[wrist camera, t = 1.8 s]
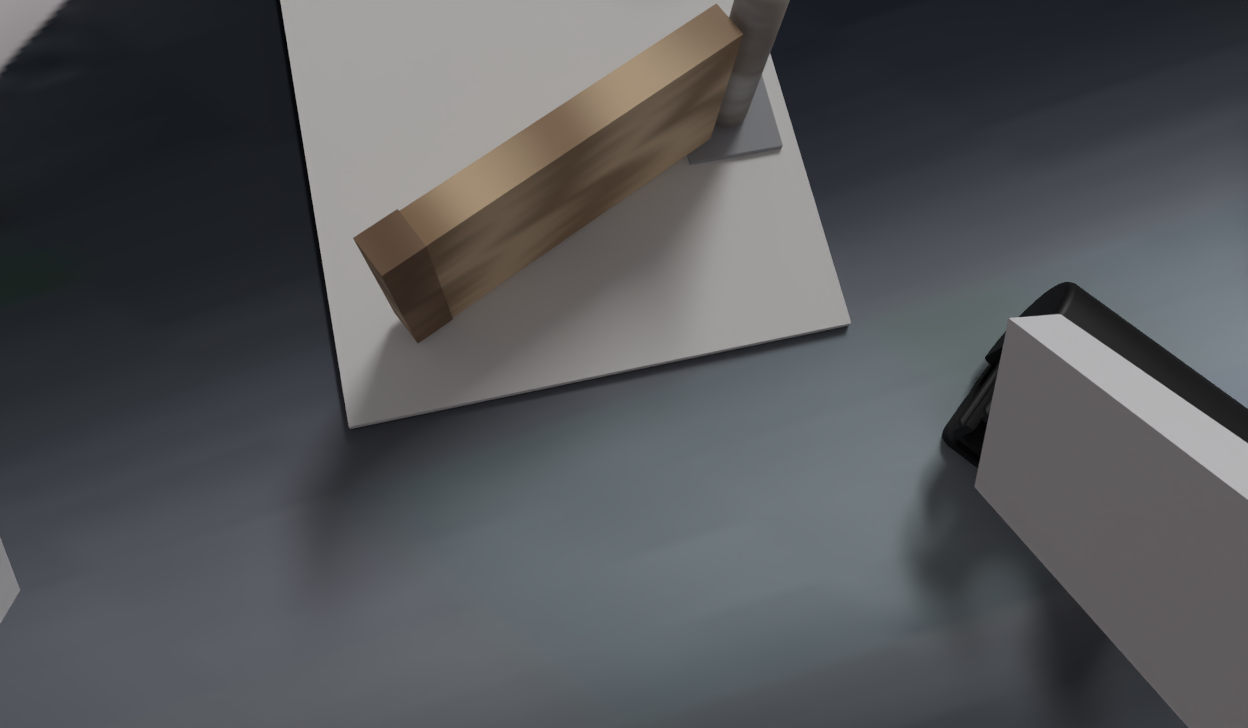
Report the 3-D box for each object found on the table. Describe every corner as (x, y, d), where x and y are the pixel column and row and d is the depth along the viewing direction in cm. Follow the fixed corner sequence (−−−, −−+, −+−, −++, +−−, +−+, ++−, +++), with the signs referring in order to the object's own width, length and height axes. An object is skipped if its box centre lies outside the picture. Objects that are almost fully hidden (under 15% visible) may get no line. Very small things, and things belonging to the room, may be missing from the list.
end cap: (1198, 449, 41) (1319, 419, 35) (1119, 578, 40) (1230, 571, 33) (1012, 311, 42) (1094, 257, 36) (927, 430, 41) (997, 396, 34)
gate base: (725, -86, 47) (727, -96, 46) (848, 325, 42) (853, 321, 41) (278, -19, 44) (274, -29, 43) (350, 428, 39) (347, 425, 38)
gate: (728, 82, 43) (769, -49, 35) (756, 113, 43) (804, -11, 34) (392, 310, 39) (345, 226, 31) (419, 346, 39) (380, 271, 31)
